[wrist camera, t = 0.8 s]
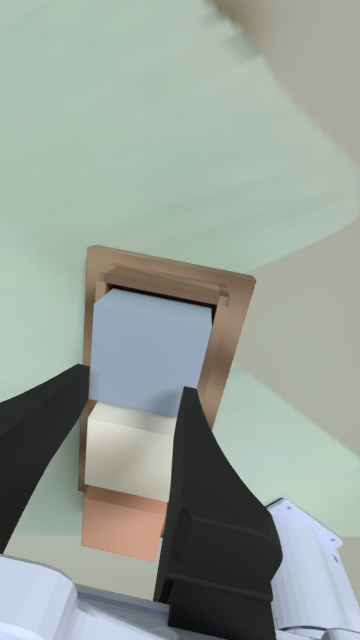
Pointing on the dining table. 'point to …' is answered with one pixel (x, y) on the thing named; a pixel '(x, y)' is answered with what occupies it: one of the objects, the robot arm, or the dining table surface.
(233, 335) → the wooden compartment tray
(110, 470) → the cream key
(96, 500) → the terracotta key
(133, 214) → the dining table surface
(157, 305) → the slate blue key
